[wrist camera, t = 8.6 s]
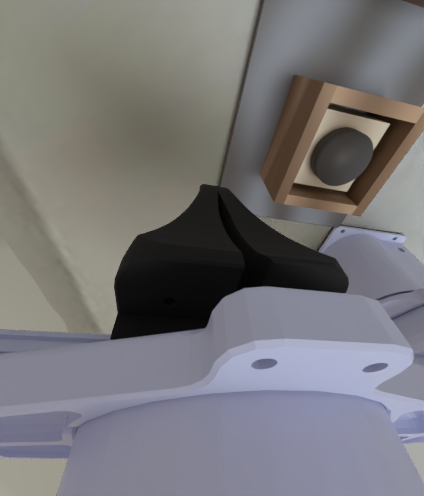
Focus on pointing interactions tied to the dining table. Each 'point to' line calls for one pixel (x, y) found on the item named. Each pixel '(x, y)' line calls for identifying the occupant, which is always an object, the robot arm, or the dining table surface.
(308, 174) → the plunger
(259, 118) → the stand
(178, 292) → the robot arm
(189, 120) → the dining table surface
